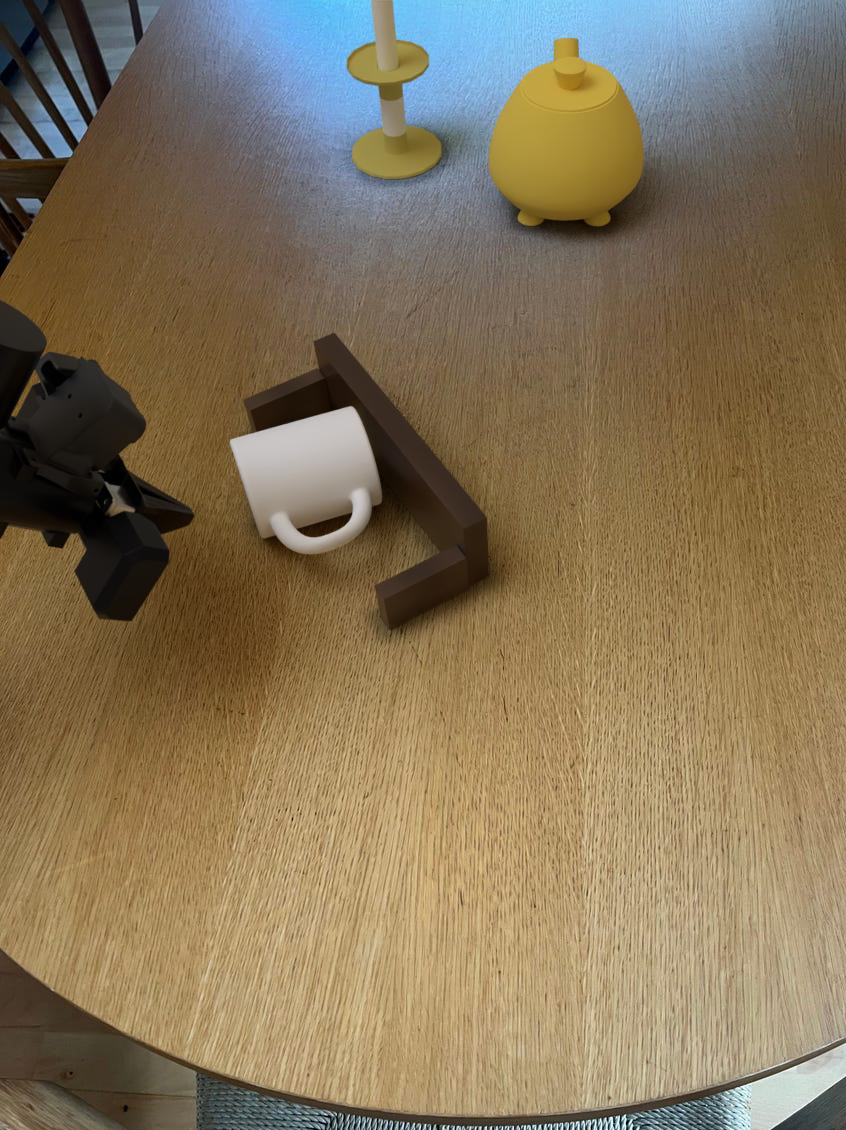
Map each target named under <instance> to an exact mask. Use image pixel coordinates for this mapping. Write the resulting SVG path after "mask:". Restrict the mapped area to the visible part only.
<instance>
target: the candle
mask: <svg viewBox="0 0 846 1130" xmlns="http://www.w3.org/2000/svg"><path fill="white" fill-rule="evenodd" d="M370 5H371V15H372V25H373V33H374V41H371V42H368V43H364V44H363V45H360V46H359V47H357V48H355V49H353V50H352V52H351V53H350V54H349V55H348V56H347V58H346V71H347V72H348V73H349V74H350V76H351V77H352V78H353V79H355V80H356V81H358V82H360V83H362V84H365V85H371V86H375V87H378V96H379V105H380V106H379V107H380V115H381V123H382V127H378V128H375V129H372V130H370V131H369V132H367V133H365V134H363V135H361V136H360V137H359V138H358V139H357V141H356V142H355V143H354V145H353V146H352V148H351V161H352V162H353V164H354V165H355V167H356V169H357V170H359V171H361V172H363V173H364V174H366V175H368V176H370V177H373V178H378V179H383V180H404V179H405V180H406V179H409V178H410V179H411V178H413V177H417V176H420V175H423V174H424V173H426V172H428V171H429V170H431V169H432V168H434V167H436V165H437V164H438V163H439V161H440V160H441V158H442V156H443V149H442V147H443V144H442V142H441V141H440V140H439V139H438V137H437V136H436V134H435V133H432V132H431V131H428V129H427V130H426V129H425V128H423V127H419V126H415V125H408V124H407V123H406V121H407V120H406V112H405V100H404V90H403V85H404V84H406V83H411V82H413V81H415V80H417V79H418V78H419V77H422V76H423V75H424V74H425V72H426V71H427V70H428V69H429V67H430V54H429V52H428V51H426V49H425V48H424V47H423V46H421V45H419V44H417V43H415V42H412V41H411V40H403V39H398V38H397V31H396V21H395V19H396V18H395V9H394V0H370Z"/></svg>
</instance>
